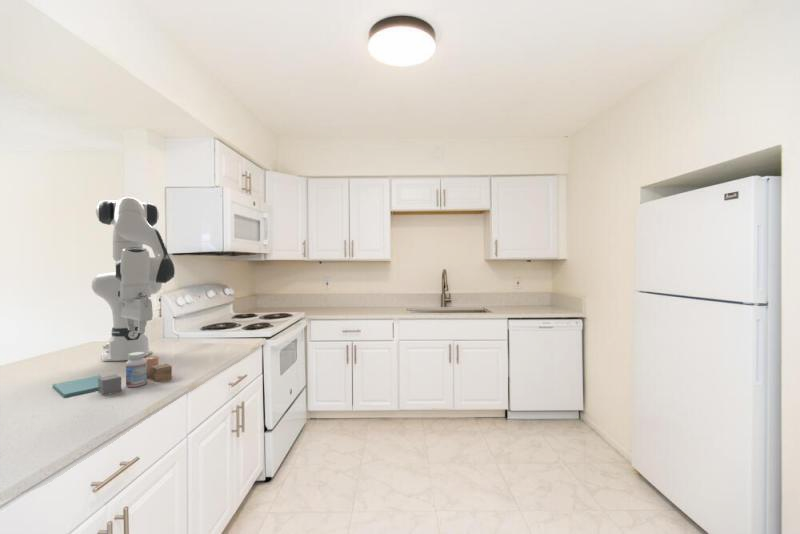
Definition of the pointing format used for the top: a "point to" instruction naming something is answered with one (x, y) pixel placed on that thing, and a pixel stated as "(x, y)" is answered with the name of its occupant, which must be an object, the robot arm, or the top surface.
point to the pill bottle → (136, 370)
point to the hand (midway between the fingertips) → (136, 331)
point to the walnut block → (161, 372)
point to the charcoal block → (109, 384)
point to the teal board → (77, 386)
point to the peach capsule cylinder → (151, 364)
